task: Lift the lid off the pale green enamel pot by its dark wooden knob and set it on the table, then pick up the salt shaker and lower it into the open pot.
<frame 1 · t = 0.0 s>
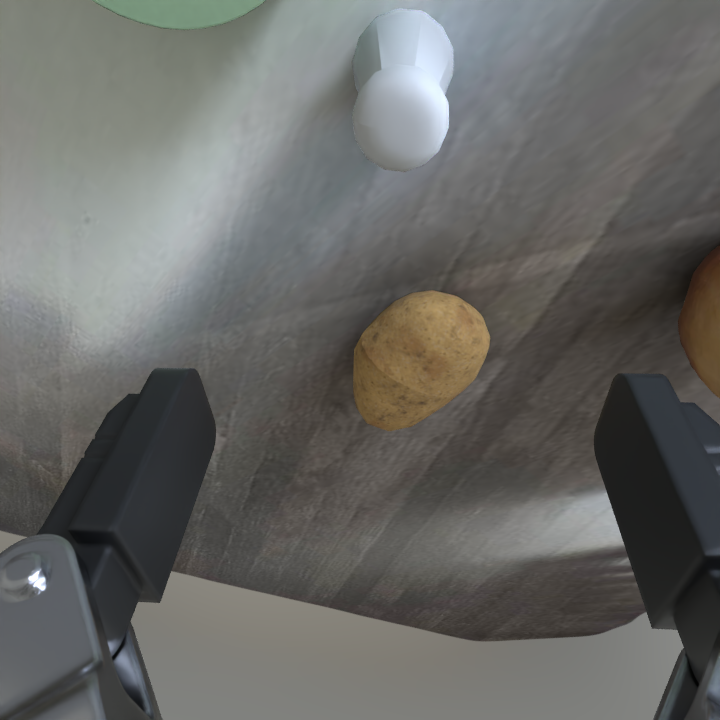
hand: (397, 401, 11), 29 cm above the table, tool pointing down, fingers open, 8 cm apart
potato: (413, 328, 46), on the table
salt shaker: (403, 57, 33), on the table
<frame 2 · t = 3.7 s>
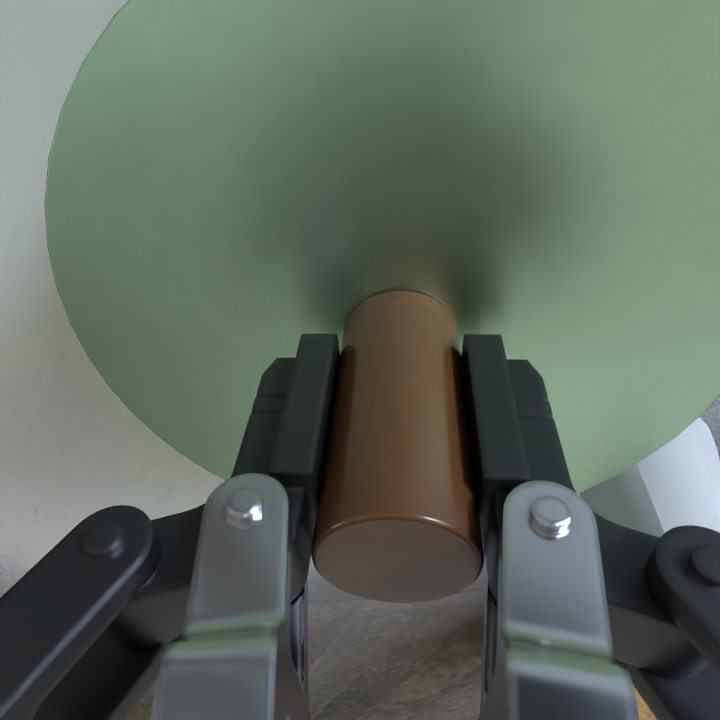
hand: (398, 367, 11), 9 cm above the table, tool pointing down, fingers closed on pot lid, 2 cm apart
potato: (555, 613, 38), on the table
pot lid: (400, 320, 13), point 7 cm above the table, touching gripper, pot
salt shaker: (619, 412, 25), on the table
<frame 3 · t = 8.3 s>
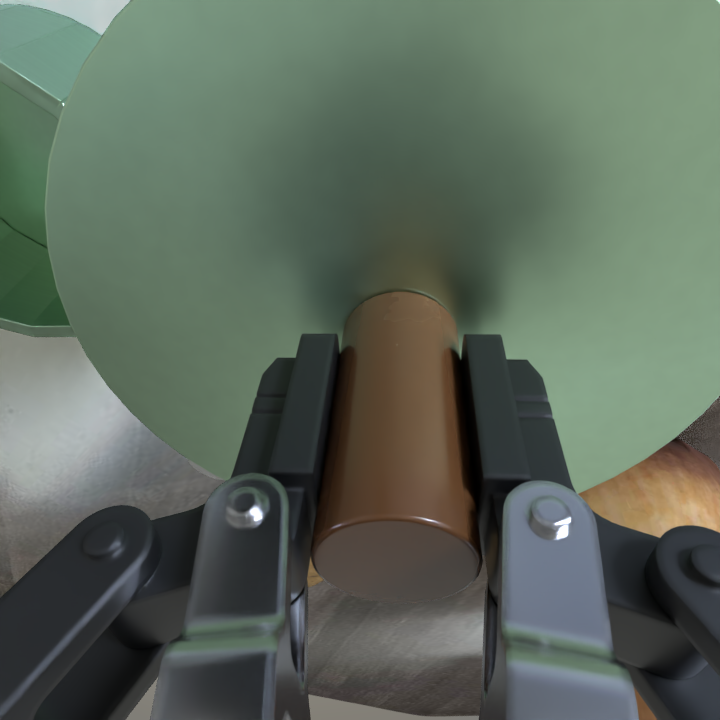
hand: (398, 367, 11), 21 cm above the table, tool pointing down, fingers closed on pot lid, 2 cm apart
butternut squash: (606, 454, 44), on the table
pot: (65, 156, 31), on the table
pot lid: (400, 321, 13), point 19 cm above the table, touching gripper
when the fingers open (2 cm above the table, at t = 12.7 s): pot lid stays where it is, point 1 cm above the table.
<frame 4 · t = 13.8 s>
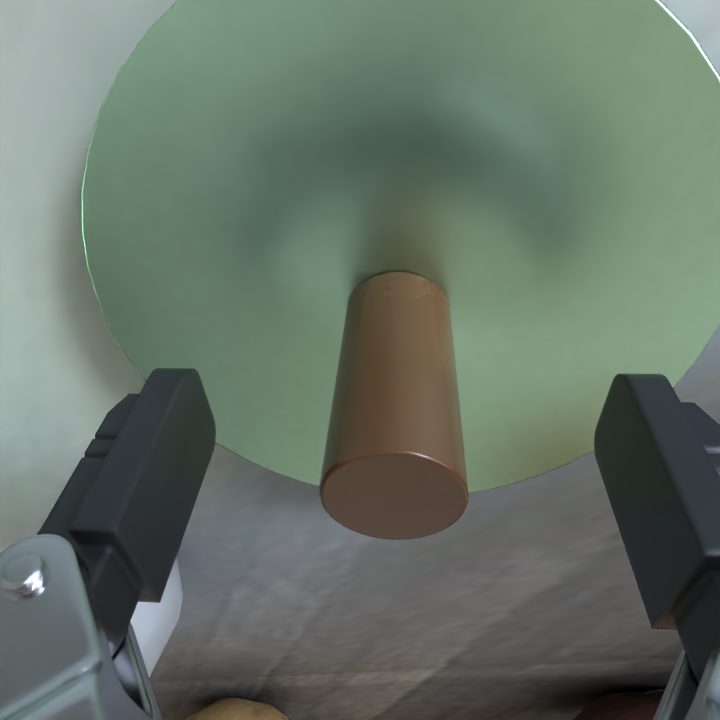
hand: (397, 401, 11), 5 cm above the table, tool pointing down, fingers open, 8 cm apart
potato: (243, 701, 38), on the table
butternut squash: (632, 694, 32), on the table
pot lid: (398, 301, 14), point 1 cm above the table
salt shaker: (136, 542, 24), on the table
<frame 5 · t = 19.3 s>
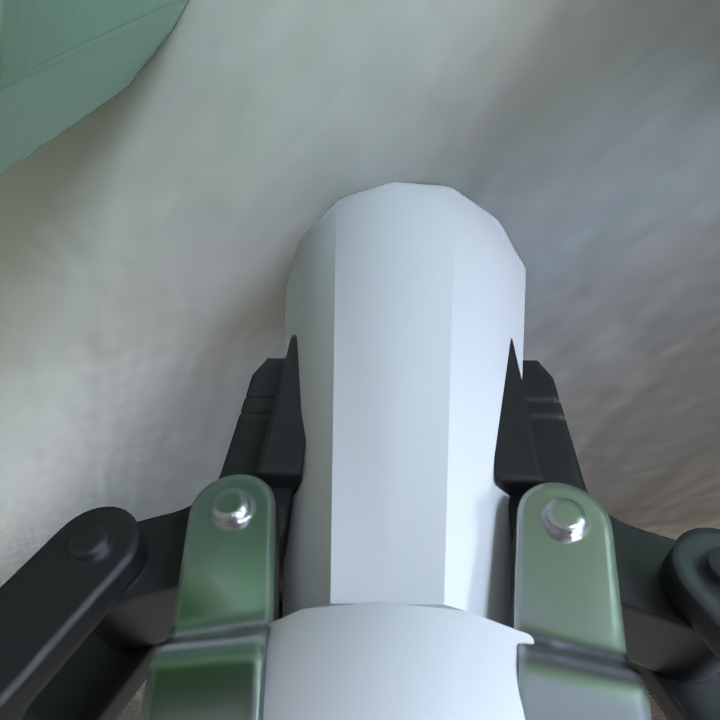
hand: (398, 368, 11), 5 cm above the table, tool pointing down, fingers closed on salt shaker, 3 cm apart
salt shaker: (404, 247, 15), on the table, touching gripper
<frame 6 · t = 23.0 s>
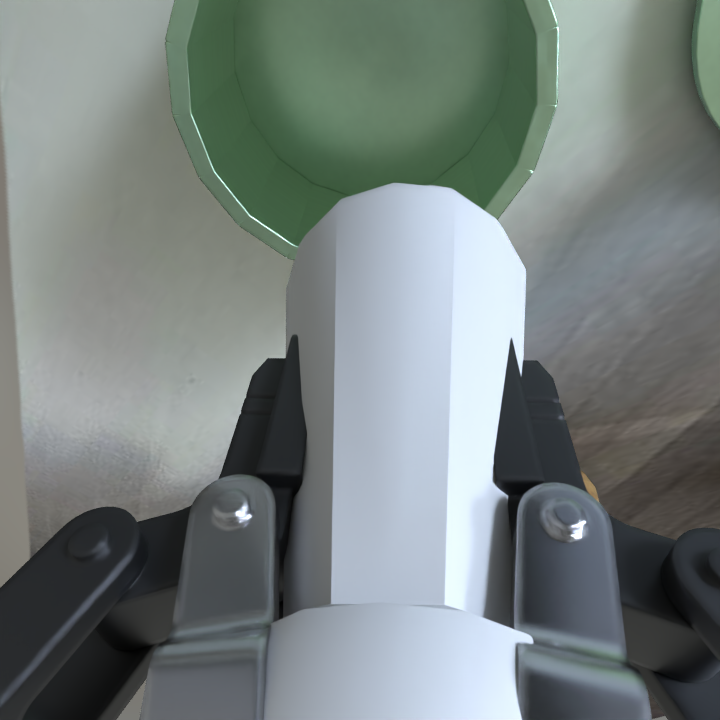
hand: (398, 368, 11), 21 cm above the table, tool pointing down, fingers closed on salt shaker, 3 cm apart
pot: (369, 64, 26), on the table
salt shaker: (404, 248, 15), point 15 cm above the table, touching gripper
when the fingers open (5 cm above the table, at t = 26.8 s): salt shaker stays where it is, resting on pot.
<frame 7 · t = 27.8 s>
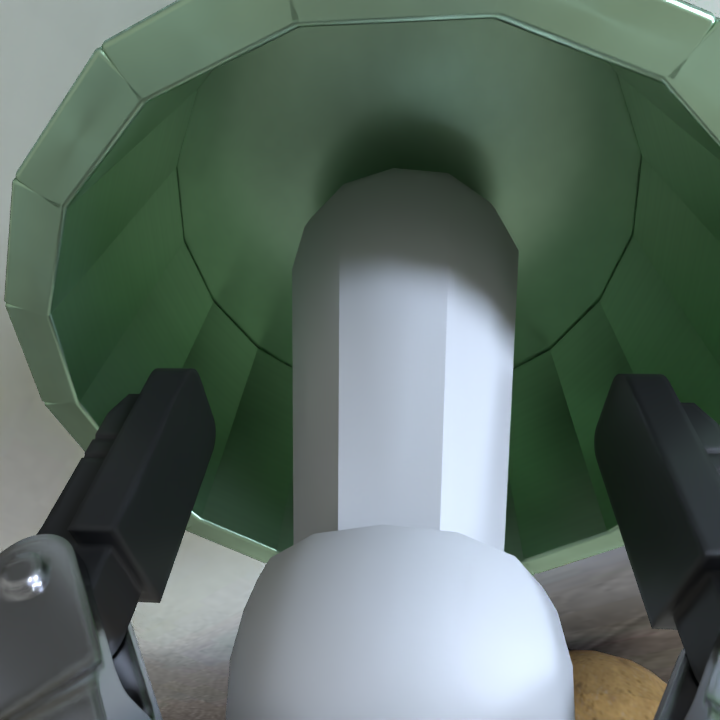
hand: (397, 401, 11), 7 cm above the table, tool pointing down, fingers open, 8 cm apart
potato: (563, 657, 36), on the table
pot: (400, 230, 16), on the table
salt shaker: (404, 234, 16), resting on pot
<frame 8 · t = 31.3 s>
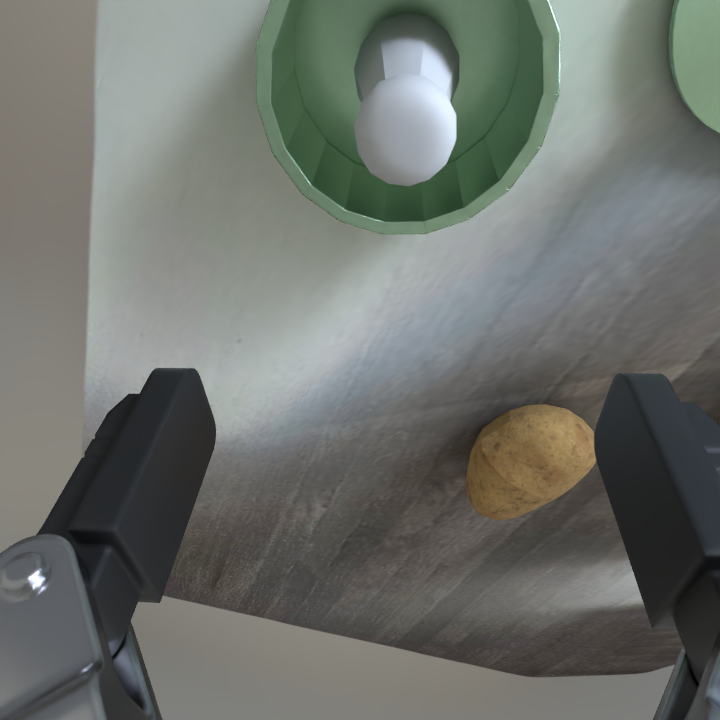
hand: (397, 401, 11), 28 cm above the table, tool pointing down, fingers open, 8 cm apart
potato: (516, 425, 52), on the table
pot: (405, 62, 32), on the table
salt shaker: (406, 63, 31), resting on pot
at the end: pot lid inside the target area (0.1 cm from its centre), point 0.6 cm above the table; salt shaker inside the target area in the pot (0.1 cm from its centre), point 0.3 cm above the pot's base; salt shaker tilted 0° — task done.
